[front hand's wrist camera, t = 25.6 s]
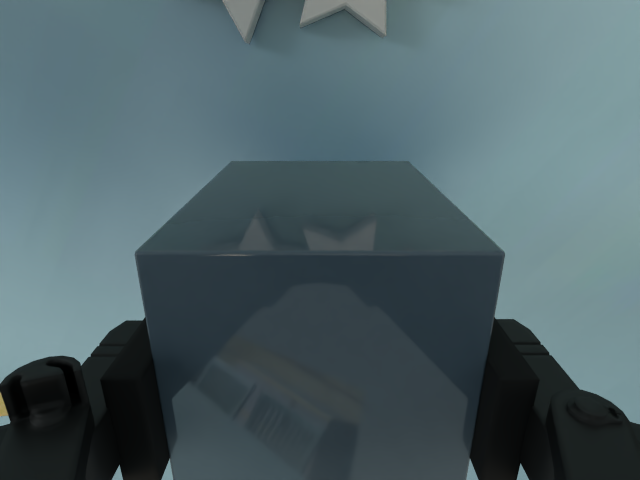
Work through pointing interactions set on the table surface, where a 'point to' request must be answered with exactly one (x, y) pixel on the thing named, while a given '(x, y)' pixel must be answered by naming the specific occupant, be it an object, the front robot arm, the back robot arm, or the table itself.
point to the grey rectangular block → (319, 324)
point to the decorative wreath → (310, 13)
